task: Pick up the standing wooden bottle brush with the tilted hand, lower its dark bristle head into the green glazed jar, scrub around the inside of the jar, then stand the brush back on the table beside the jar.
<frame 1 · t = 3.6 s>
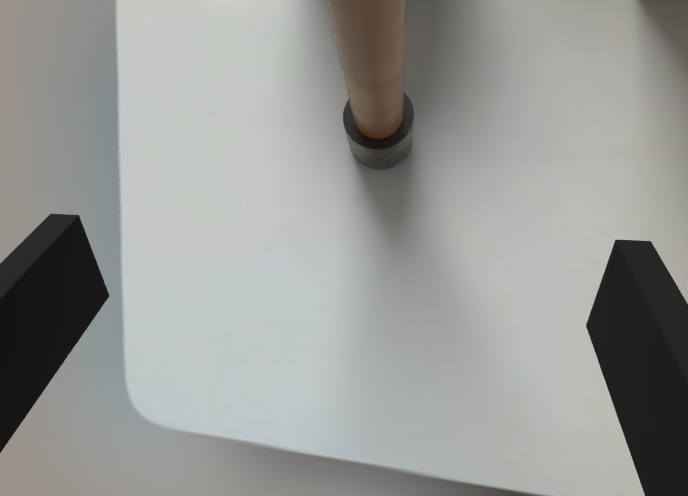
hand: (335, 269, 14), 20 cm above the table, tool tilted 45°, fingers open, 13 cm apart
brush: (380, 139, 34), on the table
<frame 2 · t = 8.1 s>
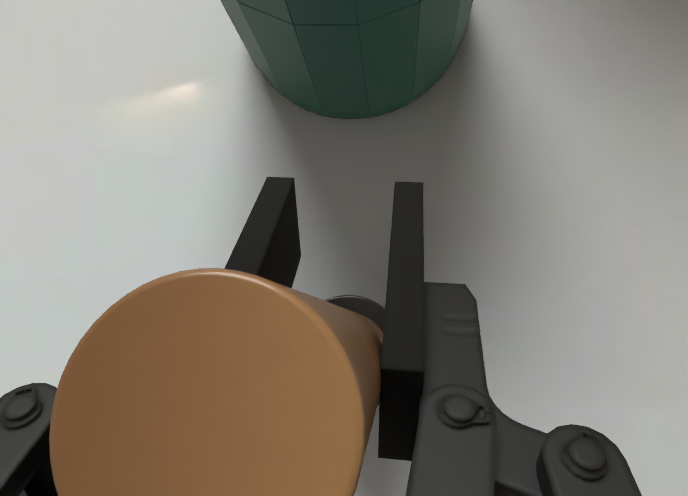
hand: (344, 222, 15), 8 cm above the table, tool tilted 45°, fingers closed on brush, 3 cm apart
brush: (356, 348, 22), on the table, touching gripper
jar: (354, 14, 25), on the table
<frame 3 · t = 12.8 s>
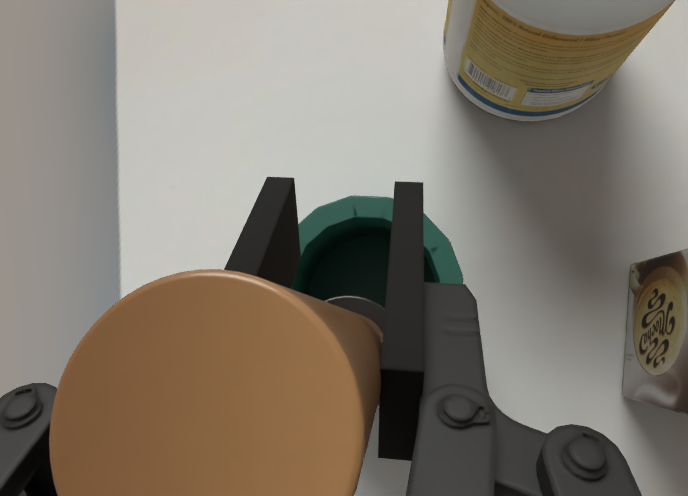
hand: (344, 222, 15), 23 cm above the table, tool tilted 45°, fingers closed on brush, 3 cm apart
brush: (356, 349, 22), point 15 cm above the table, touching gripper
jar: (372, 299, 38), on the table
coffee box: (672, 334, 36), on the table
supplement tub: (524, 50, 39), on the table
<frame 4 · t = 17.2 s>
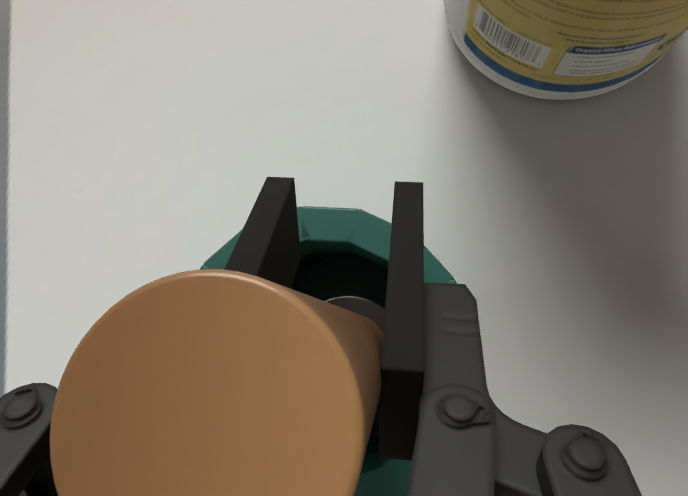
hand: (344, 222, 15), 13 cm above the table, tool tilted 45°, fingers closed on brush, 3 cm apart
brush: (356, 349, 22), point 5 cm above the table, touching gripper
jar: (346, 346, 27), on the table
supplement tub: (553, 4, 29), on the table
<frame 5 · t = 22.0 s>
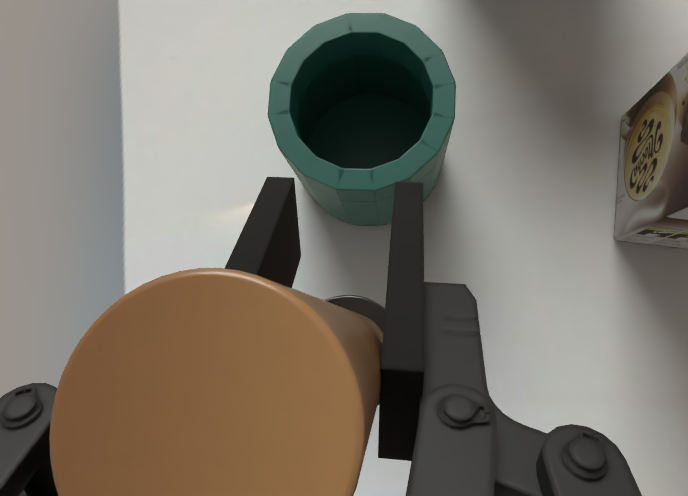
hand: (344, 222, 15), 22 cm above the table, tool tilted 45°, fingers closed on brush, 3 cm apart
brush: (356, 348, 22), point 14 cm above the table, touching gripper
jar: (369, 157, 38), on the table
coffee box: (663, 180, 36), on the table
when the fingers open (8 cm above the table, at t = 26.1 s): brush stays where it is, on the table.
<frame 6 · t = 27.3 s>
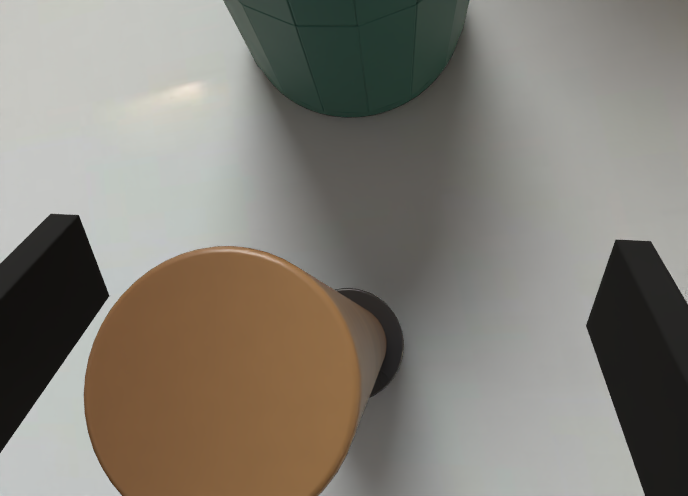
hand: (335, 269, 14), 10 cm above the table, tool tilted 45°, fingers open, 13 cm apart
brush: (355, 341, 23), on the table
jar: (353, 16, 25), on the table
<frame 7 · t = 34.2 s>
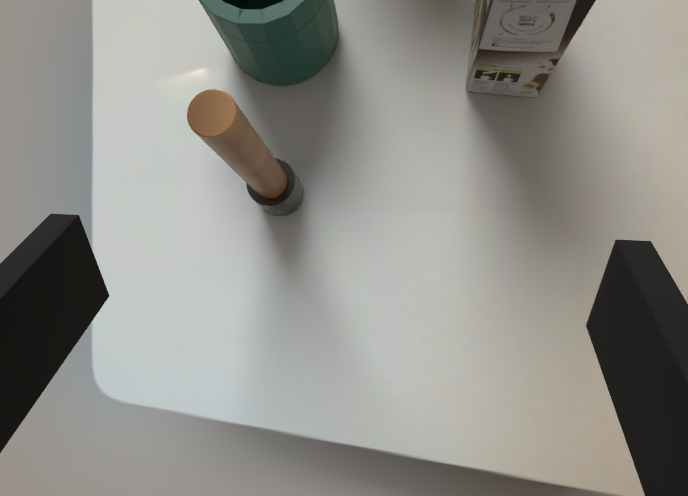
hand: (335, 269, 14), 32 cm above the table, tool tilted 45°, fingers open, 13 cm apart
brush: (281, 193, 47), on the table
jar: (284, 34, 49), on the table
coffee box: (506, 47, 47), on the table
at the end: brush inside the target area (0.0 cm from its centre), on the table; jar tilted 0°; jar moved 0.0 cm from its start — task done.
